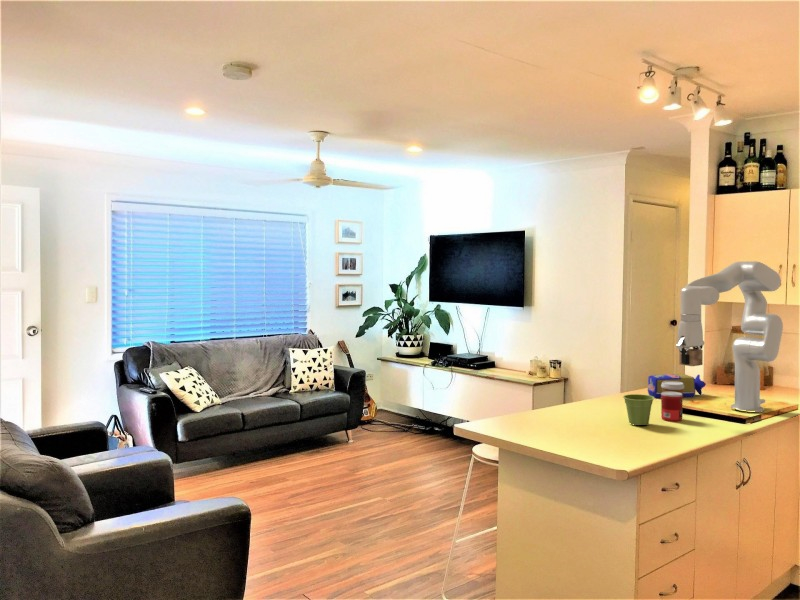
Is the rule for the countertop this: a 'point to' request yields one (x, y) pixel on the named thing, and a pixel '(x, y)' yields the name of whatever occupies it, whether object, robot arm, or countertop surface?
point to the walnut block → (693, 357)
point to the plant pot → (638, 408)
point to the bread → (688, 381)
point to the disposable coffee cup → (672, 386)
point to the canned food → (671, 406)
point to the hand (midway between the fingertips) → (690, 362)
